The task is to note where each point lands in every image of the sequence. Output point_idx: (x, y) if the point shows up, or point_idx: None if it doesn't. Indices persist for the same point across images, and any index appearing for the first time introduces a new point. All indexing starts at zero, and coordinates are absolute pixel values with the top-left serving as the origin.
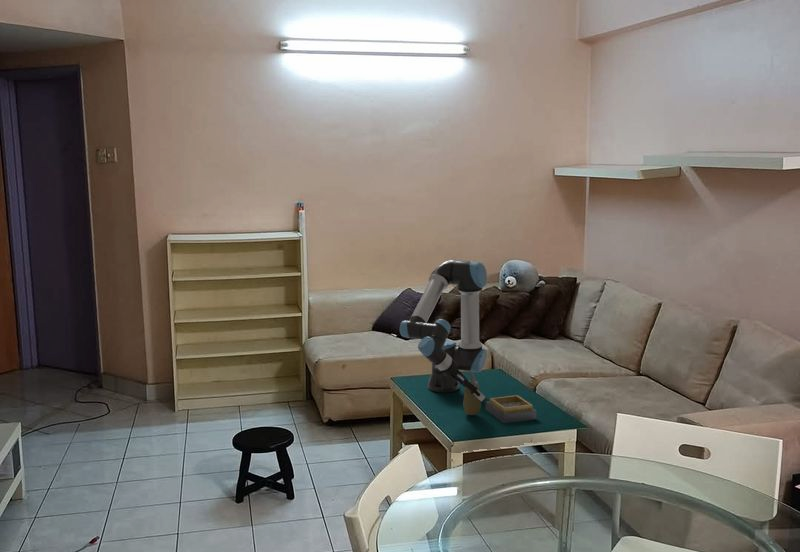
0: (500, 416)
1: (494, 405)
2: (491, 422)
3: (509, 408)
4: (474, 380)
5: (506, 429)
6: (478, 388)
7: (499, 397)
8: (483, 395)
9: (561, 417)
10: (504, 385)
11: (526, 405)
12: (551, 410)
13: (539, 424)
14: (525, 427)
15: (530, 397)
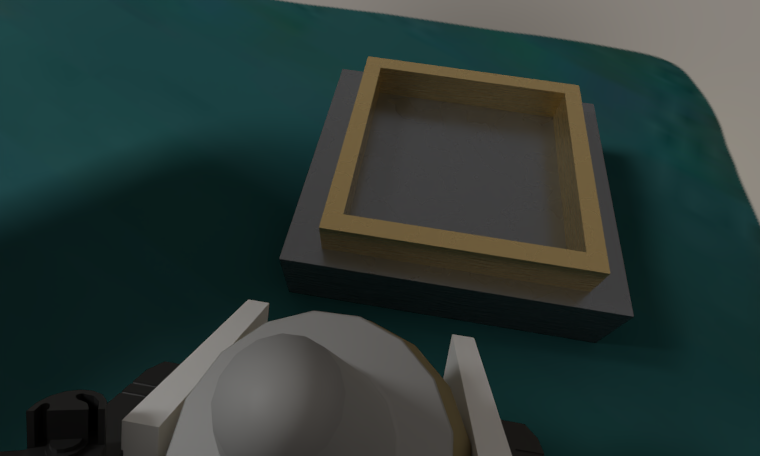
0: (556, 320)
1: (416, 261)
2: (551, 415)
3: (599, 230)
4: (387, 422)
5: (724, 399)
6: (438, 386)
7: (345, 157)
8: (479, 359)
9: (572, 57)
10: (60, 8)
11: (579, 114)
12: (473, 41)
13: (649, 173)
14: (692, 261)
15: (278, 17)
